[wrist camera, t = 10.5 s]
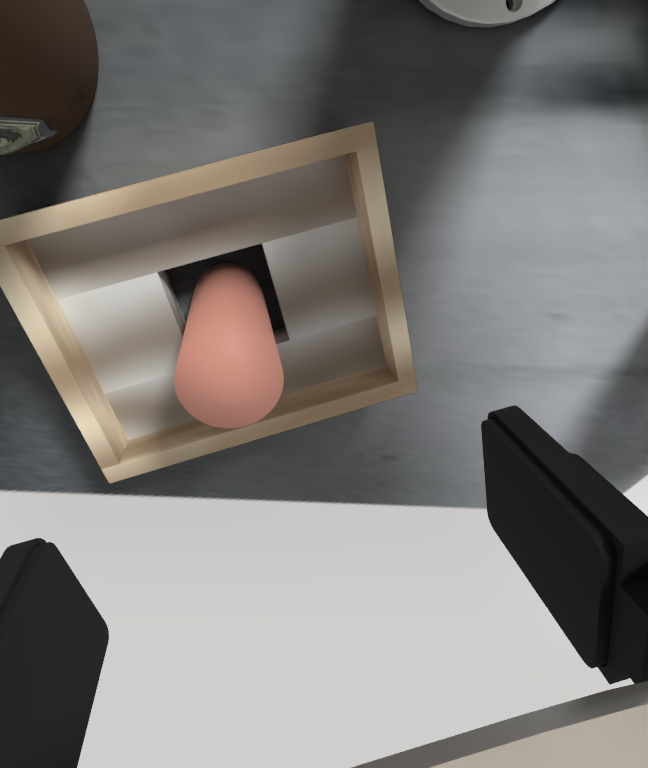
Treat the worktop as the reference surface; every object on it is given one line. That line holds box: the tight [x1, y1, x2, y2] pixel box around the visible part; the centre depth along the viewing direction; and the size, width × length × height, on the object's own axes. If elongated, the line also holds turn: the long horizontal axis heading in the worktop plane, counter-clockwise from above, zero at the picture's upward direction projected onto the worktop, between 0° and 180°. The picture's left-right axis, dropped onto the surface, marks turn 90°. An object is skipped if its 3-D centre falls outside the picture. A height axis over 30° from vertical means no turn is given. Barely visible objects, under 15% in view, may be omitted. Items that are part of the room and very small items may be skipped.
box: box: [0, 122, 418, 484], centre depth 27 cm, size 14×18×5 cm
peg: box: [174, 263, 284, 428], centre depth 23 cm, size 4×4×12 cm
